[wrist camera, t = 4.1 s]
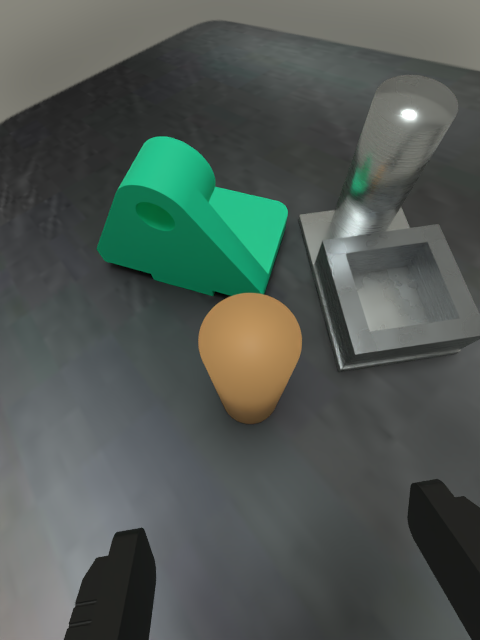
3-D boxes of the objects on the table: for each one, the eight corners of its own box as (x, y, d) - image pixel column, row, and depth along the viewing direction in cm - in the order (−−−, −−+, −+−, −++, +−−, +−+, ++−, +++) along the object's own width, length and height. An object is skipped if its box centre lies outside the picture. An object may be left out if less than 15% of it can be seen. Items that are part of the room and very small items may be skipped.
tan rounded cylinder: (253, 357, 23) (256, 275, 13) (289, 399, 22) (323, 346, 12) (210, 390, 22) (178, 331, 12) (245, 436, 21) (241, 413, 11)
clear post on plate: (455, 353, 23) (612, 273, 13) (338, 371, 22) (408, 303, 13) (395, 206, 27) (477, 66, 18) (298, 219, 27) (326, 84, 17)
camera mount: (287, 226, 27) (308, 101, 18) (260, 310, 24) (268, 215, 15) (150, 194, 29) (101, 63, 19) (110, 268, 26) (31, 159, 17)
